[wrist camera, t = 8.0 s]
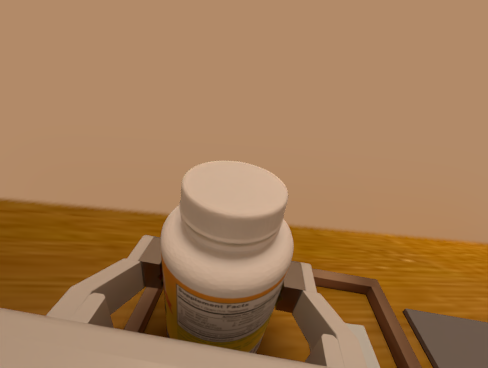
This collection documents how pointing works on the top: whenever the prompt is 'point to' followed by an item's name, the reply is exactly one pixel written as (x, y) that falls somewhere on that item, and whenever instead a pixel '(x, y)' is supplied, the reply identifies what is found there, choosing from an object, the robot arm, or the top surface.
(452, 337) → the pad
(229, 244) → the supplement bottle
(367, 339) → the flat tile
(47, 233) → the top surface
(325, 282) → the brown rectangular frame
